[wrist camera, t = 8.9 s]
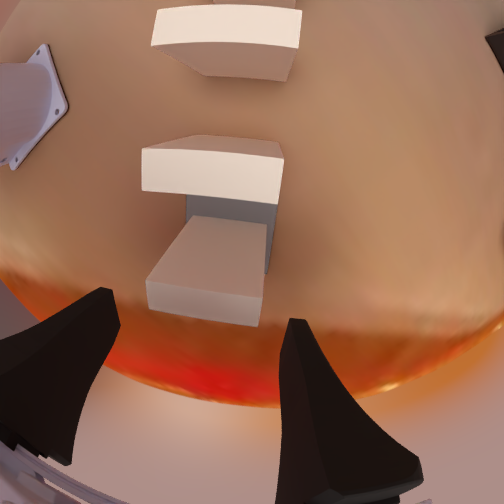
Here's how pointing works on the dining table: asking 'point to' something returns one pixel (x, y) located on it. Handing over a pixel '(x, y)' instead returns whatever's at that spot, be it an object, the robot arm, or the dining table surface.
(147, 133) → the dining table surface
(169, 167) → the tile
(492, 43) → the phone stand
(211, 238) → the tile
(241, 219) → the end marker
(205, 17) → the tile
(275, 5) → the tile
